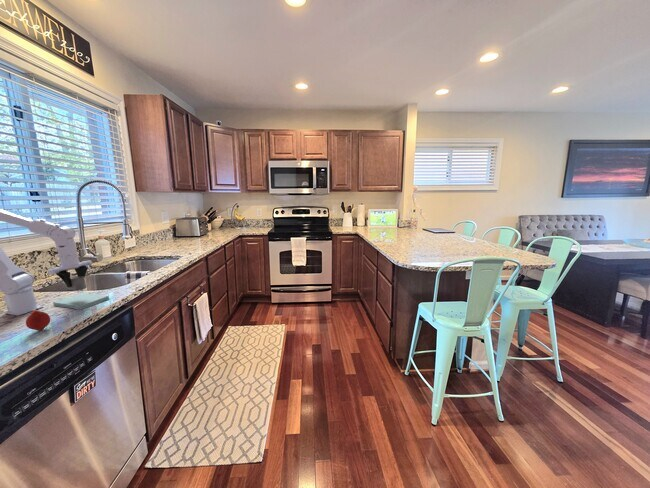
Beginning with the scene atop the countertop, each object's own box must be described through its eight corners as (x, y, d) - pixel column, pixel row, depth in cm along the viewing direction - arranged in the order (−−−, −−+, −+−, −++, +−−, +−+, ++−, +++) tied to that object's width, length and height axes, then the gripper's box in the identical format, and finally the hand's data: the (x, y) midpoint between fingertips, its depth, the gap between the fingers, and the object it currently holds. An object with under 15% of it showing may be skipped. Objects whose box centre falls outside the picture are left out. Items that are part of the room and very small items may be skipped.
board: (53, 305, 115) (53, 302, 115) (83, 295, 125) (82, 292, 125) (81, 309, 109) (80, 306, 109) (109, 298, 120) (108, 295, 119)
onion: (51, 324, 97) (46, 304, 95) (53, 329, 93) (47, 308, 92) (28, 331, 93) (22, 310, 91) (29, 336, 89) (22, 315, 87)
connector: (61, 288, 115) (58, 277, 114) (72, 285, 119) (69, 274, 118) (78, 290, 112) (75, 279, 111) (88, 287, 115) (86, 276, 114)
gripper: (52, 259, 104) (61, 292, 107) (93, 251, 117) (100, 280, 120) (41, 259, 106) (50, 290, 109) (83, 250, 120) (90, 279, 122)
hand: (76, 285), depth 115 cm, fingers closed on connector, 4 cm apart
